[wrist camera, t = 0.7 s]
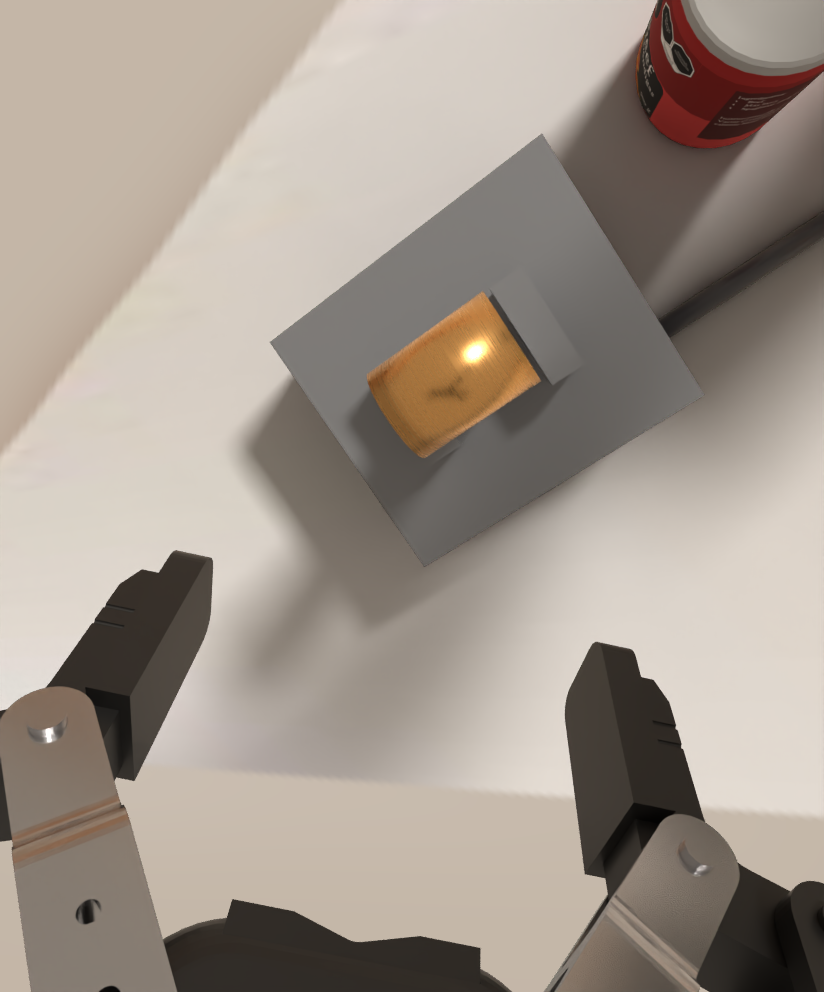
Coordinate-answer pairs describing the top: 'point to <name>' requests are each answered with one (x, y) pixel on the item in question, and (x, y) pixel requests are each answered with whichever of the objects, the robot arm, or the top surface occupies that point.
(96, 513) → the top surface
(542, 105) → the top surface
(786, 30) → the canned food
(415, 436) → the breaker lever
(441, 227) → the box
